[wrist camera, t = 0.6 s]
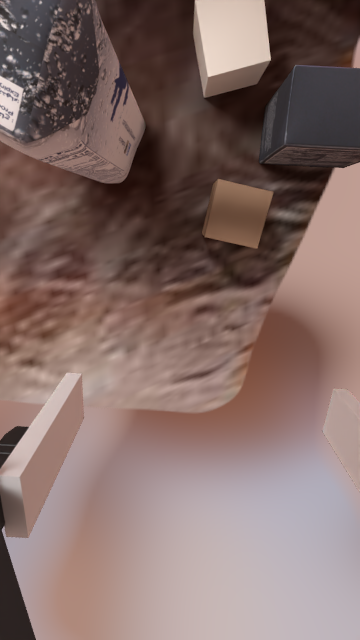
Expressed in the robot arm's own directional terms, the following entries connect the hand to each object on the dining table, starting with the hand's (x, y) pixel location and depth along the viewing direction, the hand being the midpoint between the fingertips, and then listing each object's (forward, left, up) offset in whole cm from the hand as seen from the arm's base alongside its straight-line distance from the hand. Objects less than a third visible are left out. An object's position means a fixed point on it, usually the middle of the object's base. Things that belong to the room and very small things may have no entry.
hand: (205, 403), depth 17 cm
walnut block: (-9, +4, -28) cm, 30 cm away
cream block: (-25, +2, -28) cm, 38 cm away
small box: (-18, +12, -28) cm, 36 cm away
